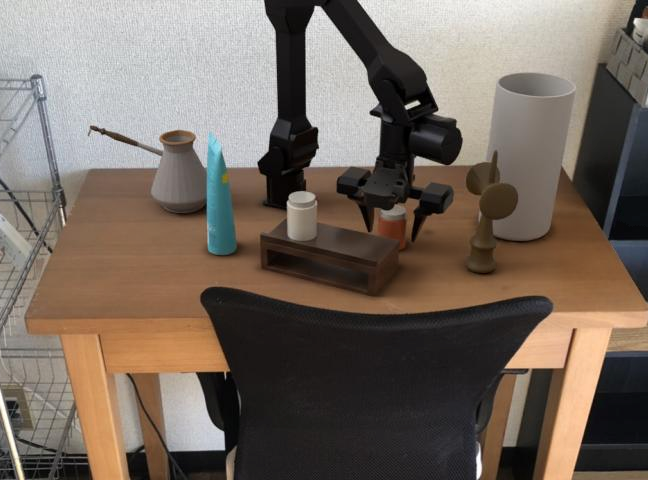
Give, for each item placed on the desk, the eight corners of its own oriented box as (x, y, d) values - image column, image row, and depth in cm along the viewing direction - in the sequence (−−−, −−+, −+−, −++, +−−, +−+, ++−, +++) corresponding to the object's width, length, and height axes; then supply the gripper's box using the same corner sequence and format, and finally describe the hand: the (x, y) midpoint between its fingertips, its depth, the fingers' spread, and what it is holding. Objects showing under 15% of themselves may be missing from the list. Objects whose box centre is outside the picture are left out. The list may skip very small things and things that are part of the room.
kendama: (470, 283, 134) (485, 163, 122) (454, 254, 142) (467, 139, 130) (506, 281, 135) (525, 161, 123) (489, 252, 142) (505, 137, 130)
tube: (243, 255, 141) (237, 144, 129) (216, 261, 139) (207, 149, 128) (227, 236, 146) (220, 128, 135) (201, 242, 145) (191, 133, 133)
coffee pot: (217, 190, 161) (211, 113, 152) (212, 217, 152) (206, 136, 143) (105, 191, 161) (92, 113, 152) (93, 218, 152) (79, 137, 142)
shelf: (261, 268, 138) (259, 234, 134) (289, 242, 145) (288, 209, 141) (374, 296, 131) (376, 261, 127) (398, 268, 138) (400, 233, 134)
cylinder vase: (547, 213, 154) (572, 74, 139) (551, 245, 144) (579, 99, 129) (478, 208, 156) (495, 70, 141) (477, 240, 146) (496, 94, 131)
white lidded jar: (282, 237, 136) (281, 199, 132) (295, 225, 139) (295, 188, 135) (309, 243, 134) (308, 205, 130) (322, 231, 137) (322, 193, 133)
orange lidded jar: (372, 247, 143) (374, 212, 140) (383, 235, 147) (385, 201, 143) (399, 253, 142) (401, 218, 138) (409, 241, 145) (412, 206, 141)
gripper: (322, 155, 131) (321, 245, 141) (436, 177, 125) (427, 269, 134) (351, 131, 139) (348, 218, 149) (459, 151, 133) (449, 240, 143)
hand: (391, 236), depth 143 cm, fingers open, 7 cm apart
